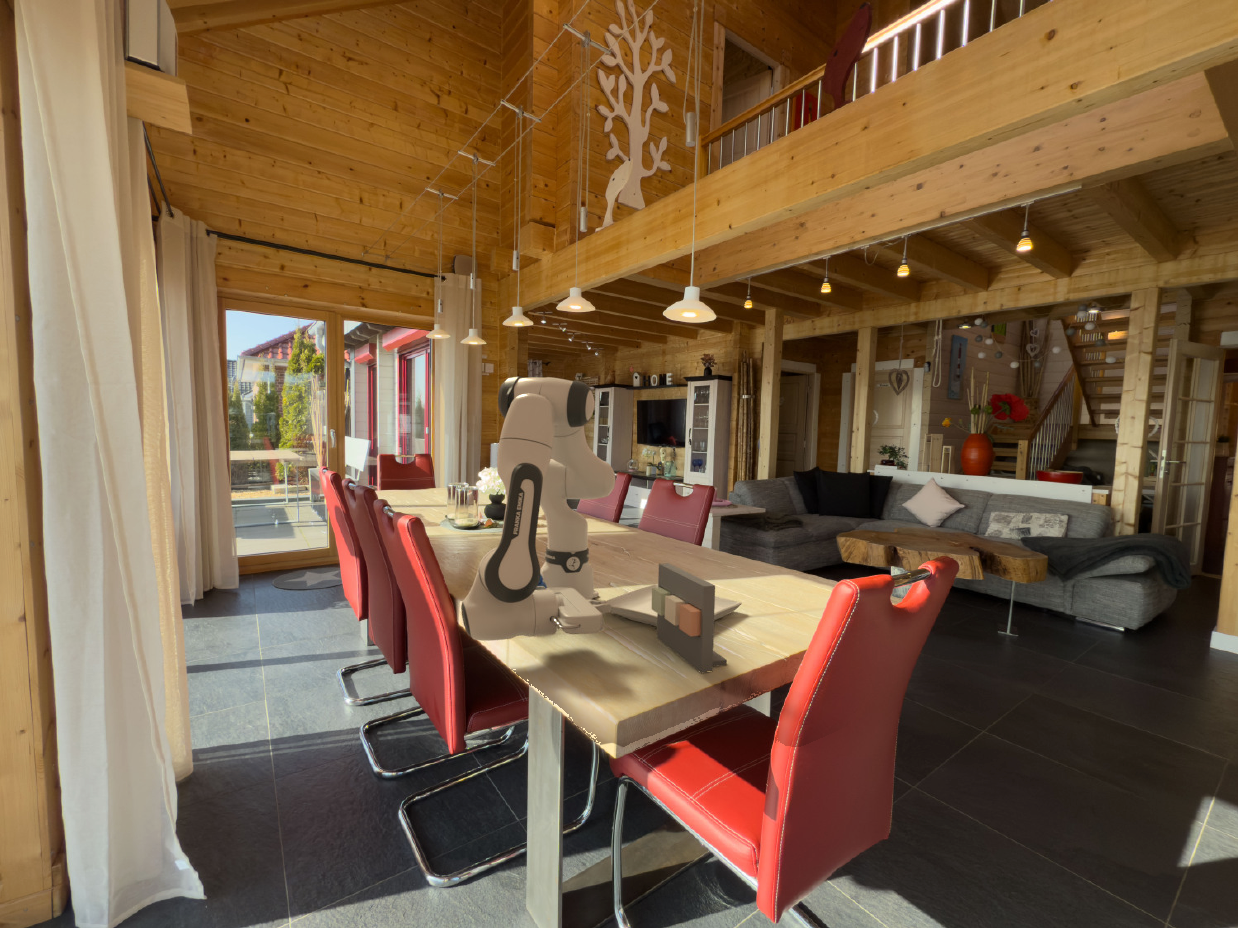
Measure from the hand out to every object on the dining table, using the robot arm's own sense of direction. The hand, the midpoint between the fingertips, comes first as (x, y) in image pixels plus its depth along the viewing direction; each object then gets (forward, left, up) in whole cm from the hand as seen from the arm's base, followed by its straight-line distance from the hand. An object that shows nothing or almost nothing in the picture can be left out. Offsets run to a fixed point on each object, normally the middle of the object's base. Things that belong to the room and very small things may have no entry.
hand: (608, 606), depth 118 cm
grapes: (-24, -10, -10) cm, 28 cm away
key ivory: (+7, +13, -2) cm, 15 cm away
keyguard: (+7, +17, -10) cm, 20 cm away
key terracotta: (+13, +13, -2) cm, 19 cm away
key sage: (0, +13, -2) cm, 13 cm away
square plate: (-18, +24, -10) cm, 32 cm away
